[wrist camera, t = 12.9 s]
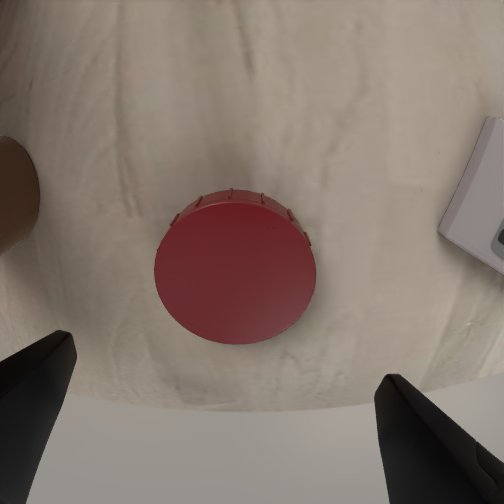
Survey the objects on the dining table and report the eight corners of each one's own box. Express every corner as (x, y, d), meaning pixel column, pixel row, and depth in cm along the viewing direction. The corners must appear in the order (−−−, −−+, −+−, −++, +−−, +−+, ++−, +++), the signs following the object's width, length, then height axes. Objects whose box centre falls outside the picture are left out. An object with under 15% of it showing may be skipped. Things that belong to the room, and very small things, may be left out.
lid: (252, 157, 13) (252, 164, 11) (335, 274, 15) (344, 296, 13) (136, 246, 14) (122, 264, 12) (224, 340, 16) (221, 365, 15)
